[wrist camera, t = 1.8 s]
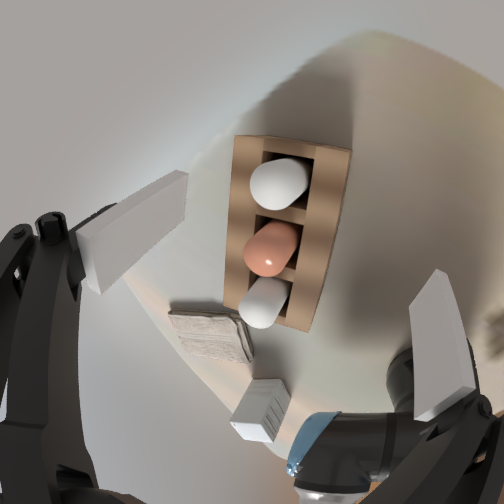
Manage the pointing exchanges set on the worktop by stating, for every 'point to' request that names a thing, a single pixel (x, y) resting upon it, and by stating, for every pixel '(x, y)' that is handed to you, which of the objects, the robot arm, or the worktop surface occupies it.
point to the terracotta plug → (272, 247)
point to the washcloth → (213, 334)
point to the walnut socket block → (299, 211)
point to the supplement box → (261, 410)
